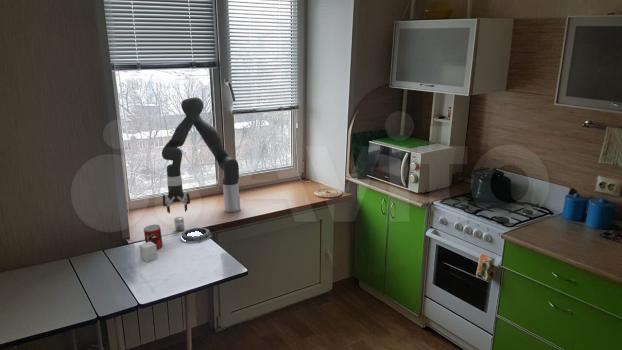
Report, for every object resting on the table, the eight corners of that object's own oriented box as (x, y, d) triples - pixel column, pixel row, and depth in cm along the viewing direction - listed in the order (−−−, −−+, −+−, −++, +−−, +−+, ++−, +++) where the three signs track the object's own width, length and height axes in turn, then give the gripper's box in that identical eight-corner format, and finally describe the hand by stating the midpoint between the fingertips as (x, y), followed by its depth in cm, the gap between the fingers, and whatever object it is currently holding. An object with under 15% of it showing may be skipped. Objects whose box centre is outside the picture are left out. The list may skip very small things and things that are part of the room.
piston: (184, 228, 261) (183, 216, 259) (184, 231, 256) (183, 219, 254) (175, 229, 259) (174, 217, 258) (175, 232, 255) (174, 220, 253)
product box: (158, 258, 223) (156, 244, 221) (146, 262, 219) (144, 248, 217) (152, 255, 227) (150, 241, 225) (140, 259, 223) (138, 244, 221)
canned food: (143, 249, 233) (140, 229, 231) (153, 243, 241) (150, 223, 238) (155, 251, 231) (153, 231, 228) (165, 245, 238) (163, 225, 235)
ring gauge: (210, 229, 257) (209, 225, 257) (212, 240, 243) (212, 235, 242) (180, 233, 253) (179, 229, 252) (180, 244, 238) (180, 240, 238)
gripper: (188, 180, 256) (190, 208, 260) (161, 183, 253) (164, 211, 257) (188, 184, 249) (191, 212, 253) (160, 186, 246) (163, 215, 250)
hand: (177, 212), depth 255 cm, fingers open, 8 cm apart
